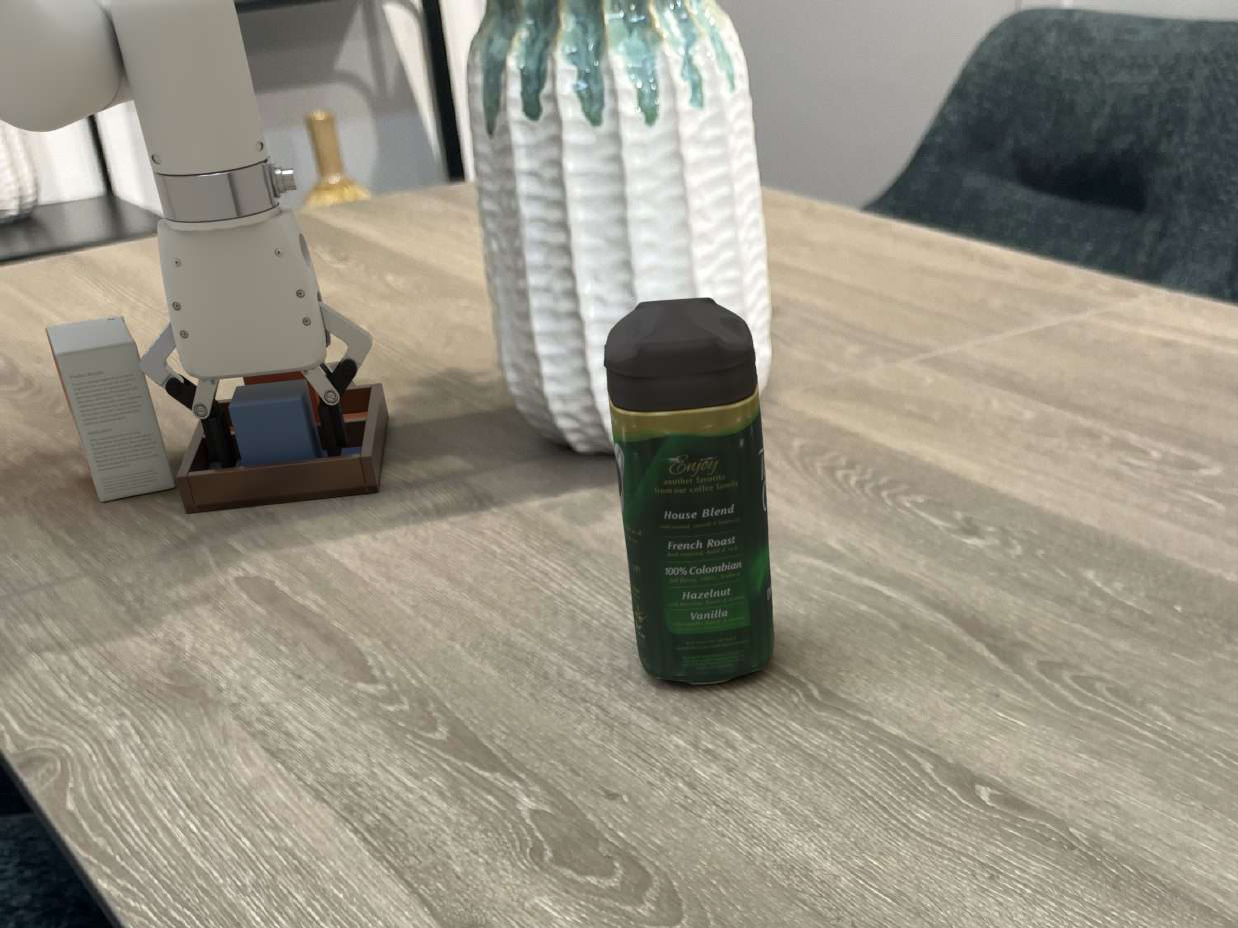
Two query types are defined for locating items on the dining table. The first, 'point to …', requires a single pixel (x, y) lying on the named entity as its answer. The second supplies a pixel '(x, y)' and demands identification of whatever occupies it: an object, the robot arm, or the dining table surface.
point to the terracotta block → (286, 377)
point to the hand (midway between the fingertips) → (283, 460)
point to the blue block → (274, 423)
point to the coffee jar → (692, 488)
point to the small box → (111, 407)
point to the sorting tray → (292, 463)
